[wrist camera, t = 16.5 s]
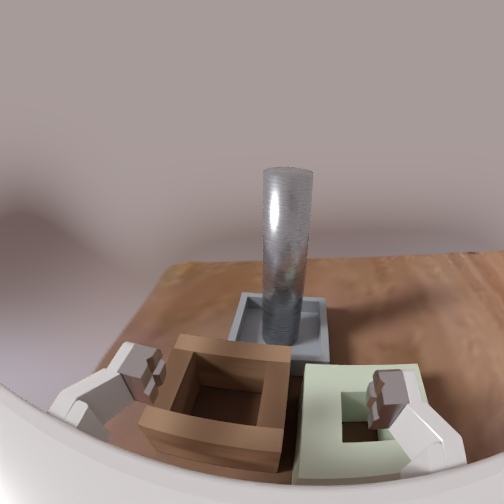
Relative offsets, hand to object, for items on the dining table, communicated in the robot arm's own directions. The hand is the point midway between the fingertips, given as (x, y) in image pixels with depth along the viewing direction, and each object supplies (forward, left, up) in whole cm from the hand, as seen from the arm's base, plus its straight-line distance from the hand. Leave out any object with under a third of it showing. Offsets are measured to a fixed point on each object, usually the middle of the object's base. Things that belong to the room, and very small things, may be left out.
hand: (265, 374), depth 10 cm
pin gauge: (0, -12, -9) cm, 15 cm away
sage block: (-6, -2, -10) cm, 12 cm away
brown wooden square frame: (+3, -3, -10) cm, 11 cm away
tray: (0, -12, -10) cm, 15 cm away
